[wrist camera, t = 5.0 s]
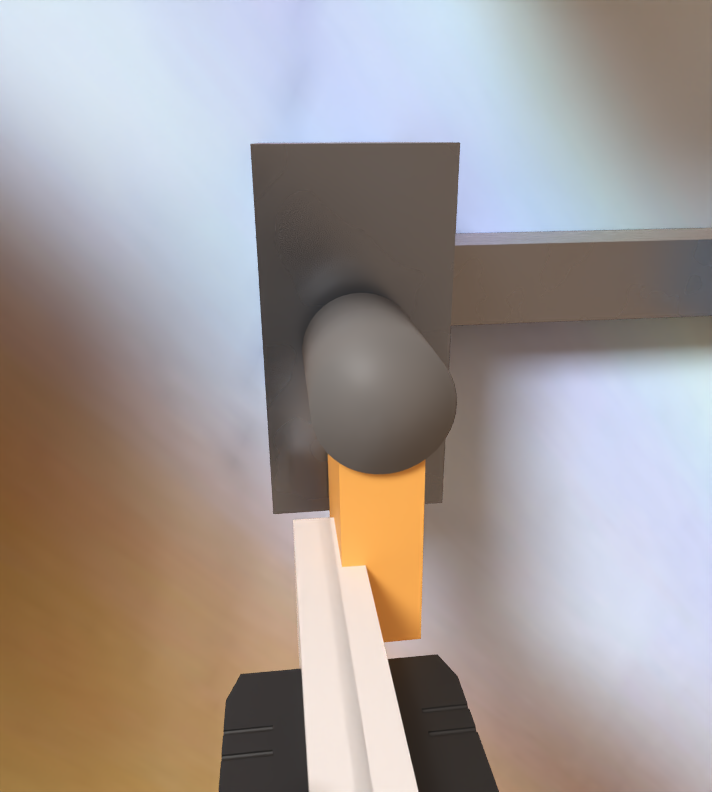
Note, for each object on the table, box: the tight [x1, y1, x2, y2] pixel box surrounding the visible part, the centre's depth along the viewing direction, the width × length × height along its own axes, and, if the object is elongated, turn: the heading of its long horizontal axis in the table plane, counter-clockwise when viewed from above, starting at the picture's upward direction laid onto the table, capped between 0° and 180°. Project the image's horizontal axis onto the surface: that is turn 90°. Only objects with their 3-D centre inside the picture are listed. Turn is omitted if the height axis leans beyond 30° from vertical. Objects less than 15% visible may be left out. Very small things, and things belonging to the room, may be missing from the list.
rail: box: [451, 228, 712, 326], centre depth 21 cm, size 19×2×2 cm, turn 90°
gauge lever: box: [302, 293, 457, 642], centre depth 13 cm, size 2×6×3 cm, turn 1°
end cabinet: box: [251, 142, 460, 514], centre depth 17 cm, size 4×8×8 cm, turn 0°
